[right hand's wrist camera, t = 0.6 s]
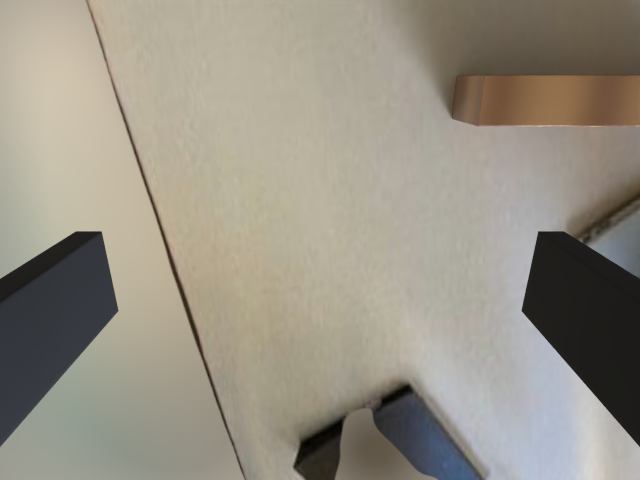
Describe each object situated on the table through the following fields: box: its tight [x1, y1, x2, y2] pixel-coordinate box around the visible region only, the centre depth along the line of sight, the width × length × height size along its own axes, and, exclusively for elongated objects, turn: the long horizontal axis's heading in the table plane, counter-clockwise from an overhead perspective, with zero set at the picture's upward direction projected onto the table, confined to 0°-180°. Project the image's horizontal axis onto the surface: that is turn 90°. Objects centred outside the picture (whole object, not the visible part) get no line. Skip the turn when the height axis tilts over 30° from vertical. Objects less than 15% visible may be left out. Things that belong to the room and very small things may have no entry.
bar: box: [452, 75, 640, 126], centre depth 44 cm, size 25×5×9 cm, turn 90°
